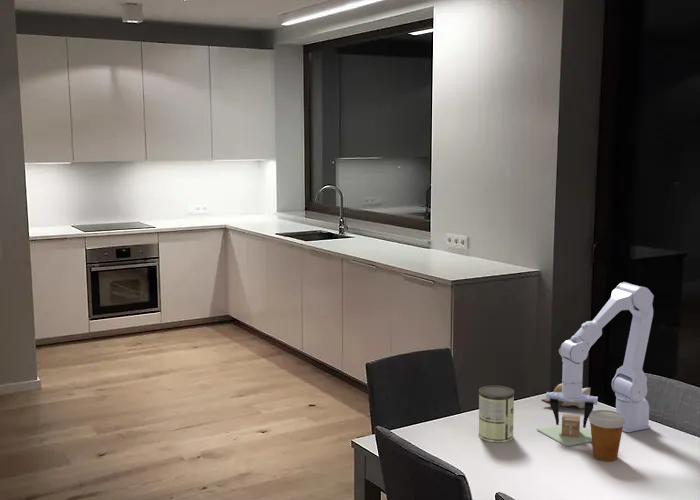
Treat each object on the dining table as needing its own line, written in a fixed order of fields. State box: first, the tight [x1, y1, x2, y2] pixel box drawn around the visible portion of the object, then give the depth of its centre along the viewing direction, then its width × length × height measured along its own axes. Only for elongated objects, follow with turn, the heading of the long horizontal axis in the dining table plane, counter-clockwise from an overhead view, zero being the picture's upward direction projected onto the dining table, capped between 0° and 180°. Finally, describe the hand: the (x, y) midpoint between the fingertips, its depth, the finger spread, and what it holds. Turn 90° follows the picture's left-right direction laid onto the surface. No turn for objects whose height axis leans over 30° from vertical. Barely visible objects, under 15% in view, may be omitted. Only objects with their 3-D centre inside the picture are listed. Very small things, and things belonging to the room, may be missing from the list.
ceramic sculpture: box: [541, 383, 591, 410], centre depth 252 cm, size 11×9×15 cm
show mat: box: [536, 423, 592, 447], centre depth 227 cm, size 14×14×1 cm
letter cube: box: [561, 413, 581, 438], centre depth 226 cm, size 5×5×5 cm
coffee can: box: [478, 384, 515, 444], centre depth 225 cm, size 10×10×14 cm
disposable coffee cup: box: [588, 409, 625, 462], centre depth 210 cm, size 10×10×12 cm
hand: (570, 425), depth 226 cm, fingers open, 7 cm apart
